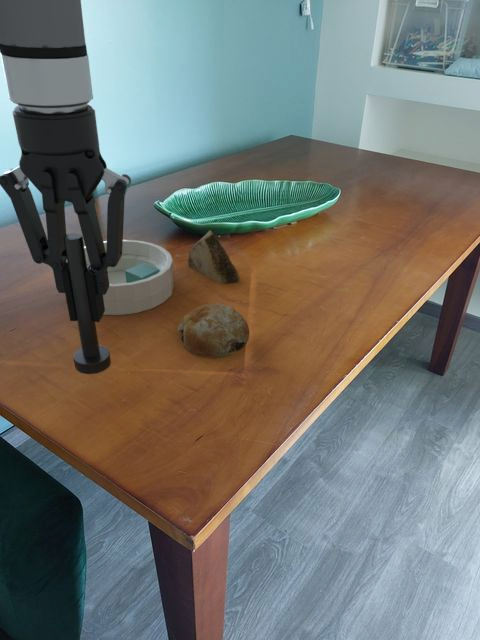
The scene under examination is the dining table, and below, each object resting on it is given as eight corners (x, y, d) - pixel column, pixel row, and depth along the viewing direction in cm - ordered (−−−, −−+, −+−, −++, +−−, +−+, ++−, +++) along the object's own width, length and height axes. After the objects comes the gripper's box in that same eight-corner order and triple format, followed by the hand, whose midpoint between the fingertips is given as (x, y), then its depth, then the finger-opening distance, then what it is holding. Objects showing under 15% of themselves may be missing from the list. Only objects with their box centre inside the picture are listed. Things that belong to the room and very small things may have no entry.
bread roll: (210, 385, 78) (230, 353, 73) (160, 339, 79) (176, 304, 74) (248, 354, 85) (268, 322, 80) (201, 312, 86) (218, 278, 81)
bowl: (53, 316, 85) (46, 282, 81) (85, 267, 99) (81, 237, 96) (164, 322, 85) (162, 288, 82) (180, 272, 100) (179, 242, 96)
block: (127, 291, 91) (124, 270, 89) (144, 283, 94) (142, 262, 91) (143, 299, 89) (142, 277, 87) (160, 290, 92) (159, 269, 90)
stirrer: (71, 359, 68) (47, 232, 59) (106, 351, 70) (88, 226, 60) (79, 377, 65) (55, 246, 55) (115, 369, 67) (98, 240, 57)
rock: (171, 256, 100) (181, 272, 91) (197, 217, 98) (209, 230, 90) (217, 284, 105) (231, 302, 97) (242, 248, 104) (258, 263, 95)
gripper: (140, 101, 54) (155, 303, 68) (-9, 93, 54) (36, 297, 67) (122, 117, 48) (144, 335, 61) (-45, 108, 48) (13, 329, 61)
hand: (87, 315), depth 64 cm, fingers closed on stirrer, 2 cm apart
